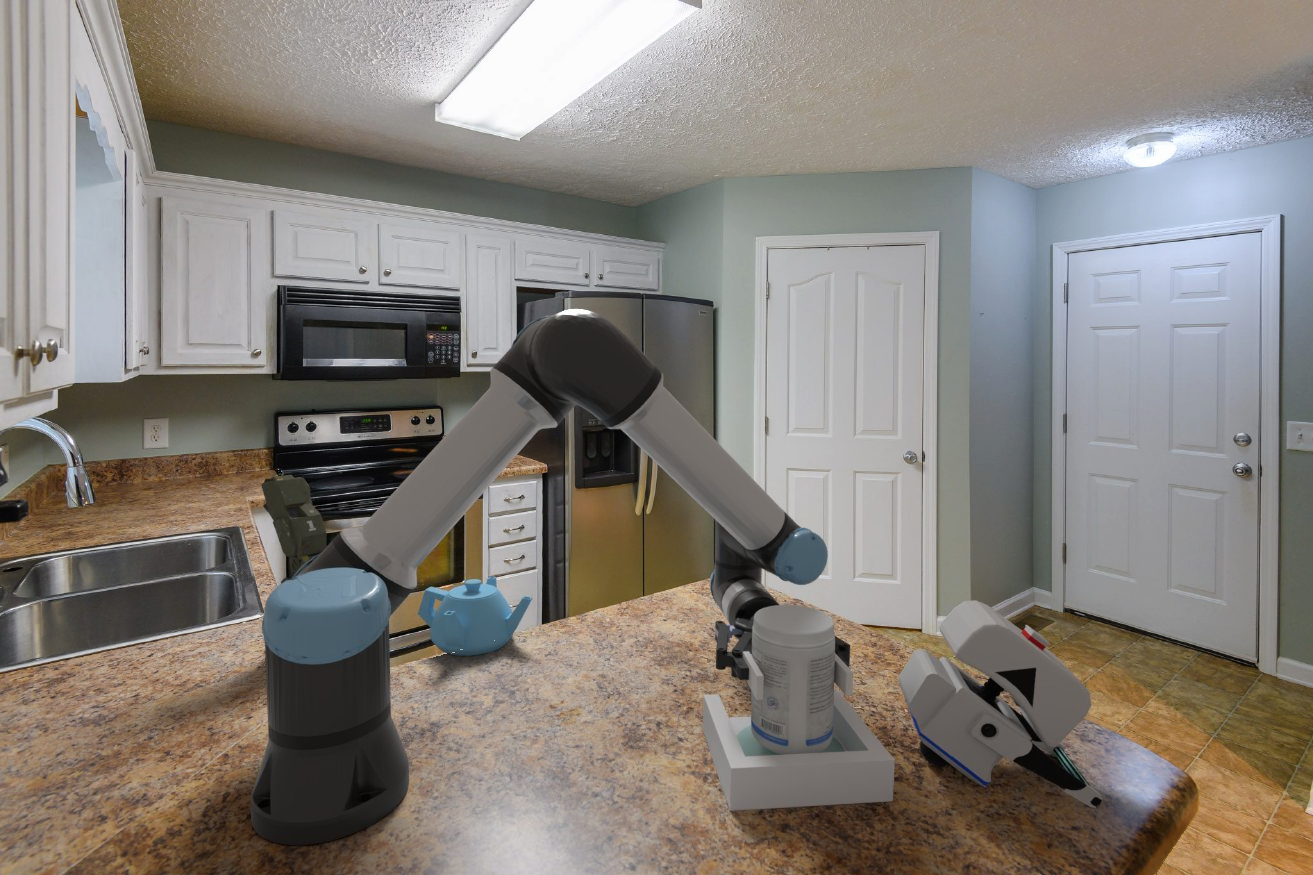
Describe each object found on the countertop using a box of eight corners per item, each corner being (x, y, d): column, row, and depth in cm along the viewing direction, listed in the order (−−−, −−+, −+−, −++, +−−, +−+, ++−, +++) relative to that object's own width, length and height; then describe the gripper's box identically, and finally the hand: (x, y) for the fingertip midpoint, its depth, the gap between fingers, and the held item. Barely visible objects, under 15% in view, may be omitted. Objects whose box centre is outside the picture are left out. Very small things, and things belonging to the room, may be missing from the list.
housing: (729, 810, 68) (731, 768, 68) (702, 729, 84) (703, 694, 84) (892, 801, 70) (894, 759, 70) (836, 723, 86) (837, 689, 86)
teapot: (498, 619, 122) (497, 563, 121) (535, 645, 110) (534, 583, 109) (415, 637, 113) (414, 577, 112) (445, 668, 101) (444, 601, 100)
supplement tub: (819, 716, 82) (823, 603, 80) (843, 760, 72) (848, 633, 71) (743, 716, 81) (746, 603, 80) (757, 761, 72) (761, 633, 71)
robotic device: (1039, 865, 71) (1170, 736, 68) (878, 739, 74) (996, 607, 70) (1007, 805, 81) (1119, 689, 78) (866, 696, 84) (969, 579, 80)
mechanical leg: (355, 650, 105) (325, 467, 106) (311, 666, 99) (280, 472, 100) (310, 650, 112) (282, 479, 113) (266, 665, 106) (237, 485, 107)
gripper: (825, 636, 95) (898, 714, 73) (677, 641, 93) (705, 722, 71) (827, 586, 95) (901, 650, 73) (677, 590, 92) (707, 656, 70)
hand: (805, 686), depth 72 cm, fingers closed on supplement tub, 9 cm apart
